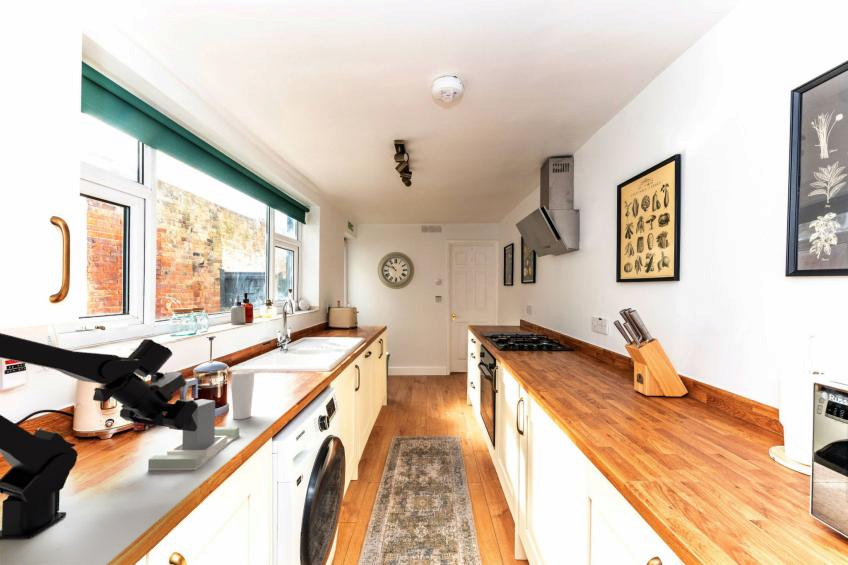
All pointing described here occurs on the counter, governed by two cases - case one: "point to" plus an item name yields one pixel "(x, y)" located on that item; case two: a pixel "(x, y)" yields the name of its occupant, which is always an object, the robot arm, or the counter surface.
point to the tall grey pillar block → (201, 427)
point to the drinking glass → (242, 393)
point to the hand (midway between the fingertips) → (182, 427)
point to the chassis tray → (193, 453)
